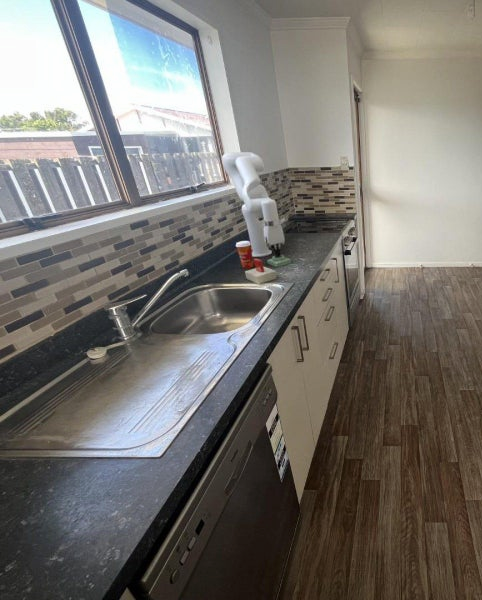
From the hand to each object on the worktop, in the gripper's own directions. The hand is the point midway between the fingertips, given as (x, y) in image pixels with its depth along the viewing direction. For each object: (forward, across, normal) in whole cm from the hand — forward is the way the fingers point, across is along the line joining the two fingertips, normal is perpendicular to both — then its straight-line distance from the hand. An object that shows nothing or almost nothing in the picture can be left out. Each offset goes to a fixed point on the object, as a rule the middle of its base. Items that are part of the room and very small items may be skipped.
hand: (277, 255), depth 187 cm
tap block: (+5, +19, +14) cm, 24 cm away
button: (+2, 0, 0) cm, 2 cm away
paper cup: (+5, +14, -9) cm, 17 cm away
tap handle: (+1, +19, +14) cm, 24 cm away
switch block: (+5, 0, 0) cm, 5 cm away
